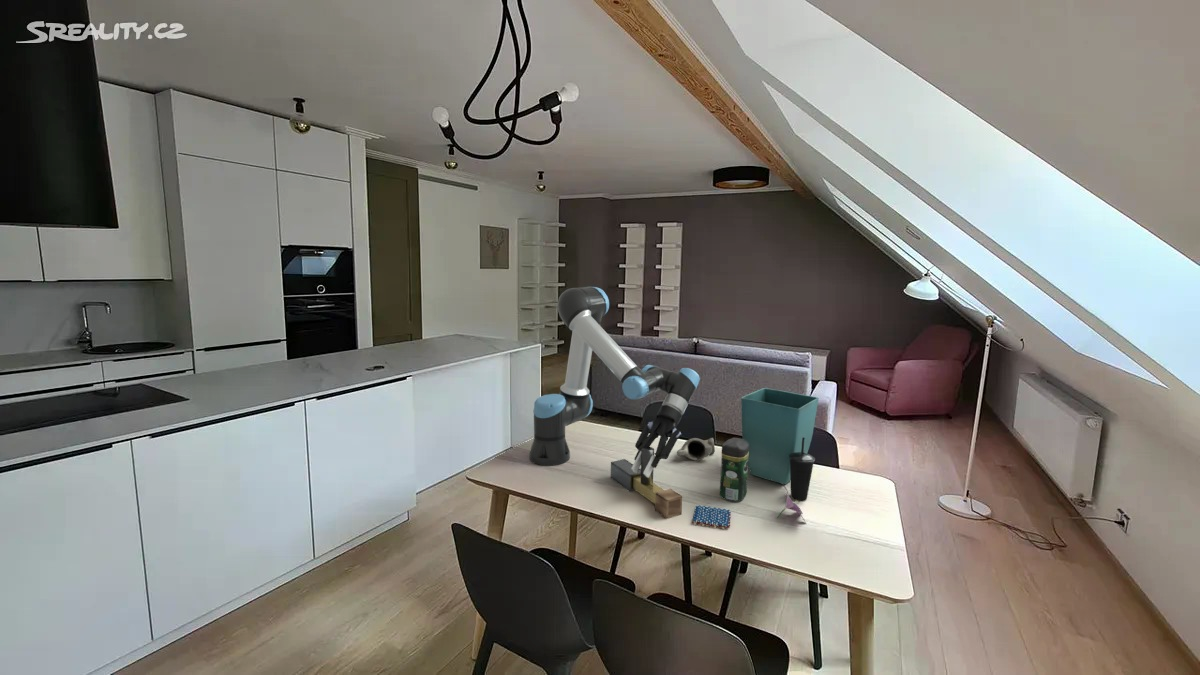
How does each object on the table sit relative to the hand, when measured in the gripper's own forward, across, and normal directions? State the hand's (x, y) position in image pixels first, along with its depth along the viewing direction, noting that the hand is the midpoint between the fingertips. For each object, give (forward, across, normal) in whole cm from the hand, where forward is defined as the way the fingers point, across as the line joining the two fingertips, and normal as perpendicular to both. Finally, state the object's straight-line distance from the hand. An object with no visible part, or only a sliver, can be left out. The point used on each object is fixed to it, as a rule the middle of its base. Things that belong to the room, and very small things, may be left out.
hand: (639, 473), depth 159 cm
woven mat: (+3, -22, -11) cm, 25 cm away
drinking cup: (-20, -36, -33) cm, 53 cm away
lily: (-9, -39, -23) cm, 46 cm away
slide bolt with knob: (+2, +3, -9) cm, 10 cm away
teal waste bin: (-28, -23, -41) cm, 55 cm away
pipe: (-24, +6, -38) cm, 45 cm away
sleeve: (+1, +11, -12) cm, 16 cm away
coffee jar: (-10, -20, -23) cm, 32 cm away
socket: (+6, -11, -7) cm, 14 cm away
